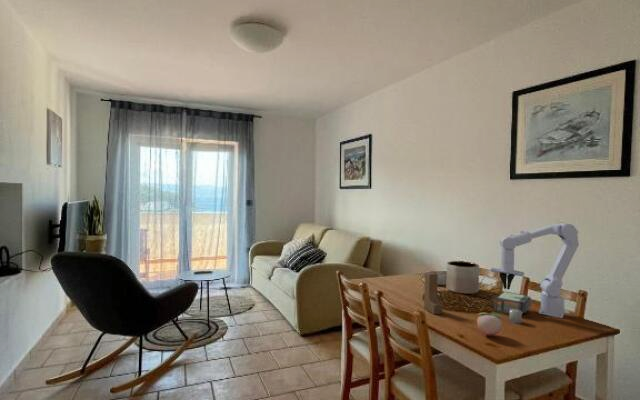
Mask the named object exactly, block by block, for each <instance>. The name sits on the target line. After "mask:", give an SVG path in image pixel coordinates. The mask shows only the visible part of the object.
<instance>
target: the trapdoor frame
mask: <svg viewBox="0 0 640 400" xmlns="http://www.w3.org/2000/svg"><path fill="white" fill-rule="evenodd" d="M504 292H507V293H512V294H518V295H524V296H528V295H527V294H526V295H525V294H521V293H516V292H510V291H504V290H501V294H502V293H504ZM498 297H499V296H494V298H493V300H494V301H493V302H494V303H493V304H494V305H493V306H494V308H493V312H494V313H499V314H504V315H508V316H509V311H510V309H518V310H521V304H522V302H520V301H514V300H509V299H504V298H498ZM498 301H500V304H499V305H498ZM505 302H507V303H505ZM508 303H510V304H508ZM511 303H514V304H511ZM515 304H518V305H515ZM525 313H526V312H522V316H523V315H524V314H525Z"/></svg>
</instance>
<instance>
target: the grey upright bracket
mask: <svg viewBox="0 0 640 400" xmlns="http://www.w3.org/2000/svg"><path fill="white" fill-rule="evenodd" d="M437 278H438V275H437V274H436V273H433V272H431V271H429V272H426V271H425V272H424V298H423V299H424V301H423V303H424V304H423V305H424V307H423V308H424V309H425V310H426V311H427V312H429V313H431V314H432V315H442V314H443V303H441V302H440V300H439V297H438V285H437Z"/></svg>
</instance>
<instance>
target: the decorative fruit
mask: <svg viewBox="0 0 640 400" xmlns="http://www.w3.org/2000/svg"><path fill="white" fill-rule="evenodd" d="M503 319H504V318H503V317H502V316H501V315H499V314H497V313H491V310H490V311H489V313H488V312H483V311H482V312H479V313H477V320H476V322H477V323H476V324H477V327H478V328H479V330H480V331H481V332H482V333H483V334H485V335H487V336H488V337H491V336H495V335H498V334H499V333H500V332H501V331H502V328H503V321H502V320H503Z"/></svg>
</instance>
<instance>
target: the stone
mask: <svg viewBox="0 0 640 400" xmlns="http://www.w3.org/2000/svg"><path fill="white" fill-rule="evenodd" d="M508 316H509V319H508V320H509V322H510V323H512V324H519V325H520V324H522V322H523V321H522V318H523V317H522V316H523V315H522V311H521V310H518V309H510V311H509V315H508Z"/></svg>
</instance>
